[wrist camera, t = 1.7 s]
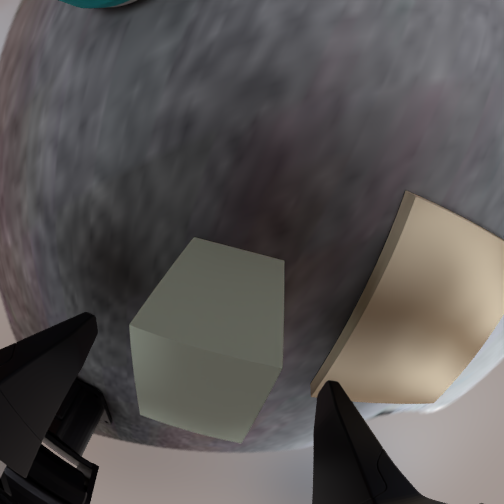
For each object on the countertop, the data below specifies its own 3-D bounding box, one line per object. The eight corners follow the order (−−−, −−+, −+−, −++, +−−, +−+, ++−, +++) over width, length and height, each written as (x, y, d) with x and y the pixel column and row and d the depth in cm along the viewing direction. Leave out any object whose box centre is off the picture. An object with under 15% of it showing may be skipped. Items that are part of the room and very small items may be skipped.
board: (429, 393, 15) (433, 403, 14) (310, 384, 15) (310, 396, 14) (522, 252, 10) (532, 259, 9) (405, 190, 10) (416, 195, 9)
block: (256, 342, 14) (241, 443, 9) (182, 322, 14) (140, 414, 8) (284, 260, 12) (282, 368, 6) (194, 236, 12) (129, 324, 6)
